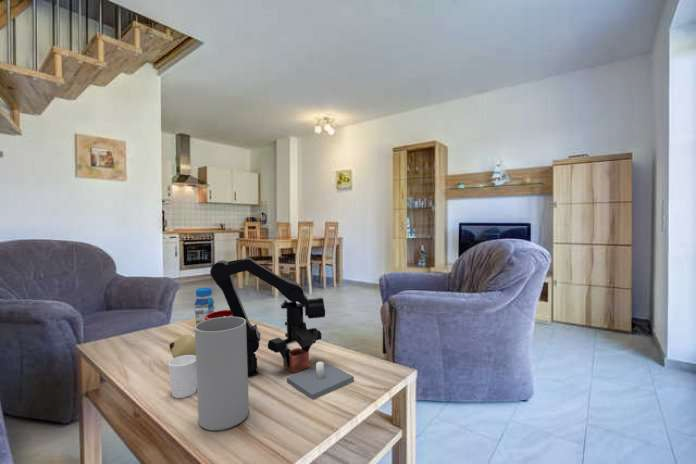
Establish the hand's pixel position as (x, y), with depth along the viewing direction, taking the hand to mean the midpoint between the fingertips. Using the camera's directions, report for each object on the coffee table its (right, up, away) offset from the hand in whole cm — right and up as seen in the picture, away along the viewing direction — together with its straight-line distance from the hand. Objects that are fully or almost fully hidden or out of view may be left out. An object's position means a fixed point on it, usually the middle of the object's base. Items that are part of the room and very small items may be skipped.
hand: (296, 363), depth 118 cm
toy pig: (-41, -2, +6) cm, 41 cm away
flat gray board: (+9, -2, -10) cm, 14 cm away
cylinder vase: (-15, -3, -29) cm, 32 cm away
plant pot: (-36, -1, +27) cm, 45 cm away
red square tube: (0, -1, 0) cm, 1 cm away
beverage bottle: (-48, -1, +40) cm, 63 cm away
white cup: (-31, -3, -16) cm, 35 cm away
